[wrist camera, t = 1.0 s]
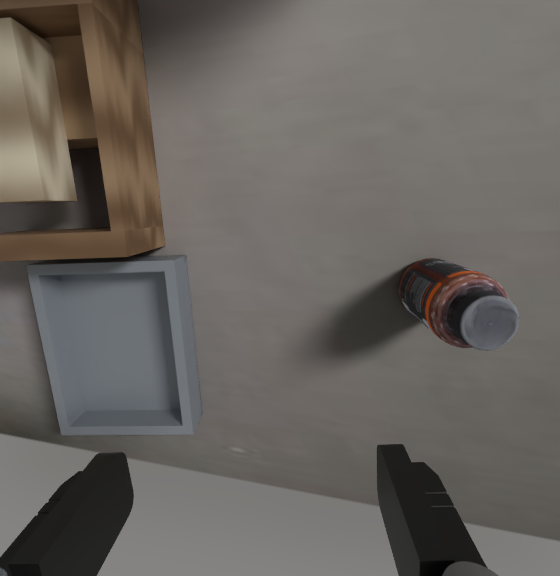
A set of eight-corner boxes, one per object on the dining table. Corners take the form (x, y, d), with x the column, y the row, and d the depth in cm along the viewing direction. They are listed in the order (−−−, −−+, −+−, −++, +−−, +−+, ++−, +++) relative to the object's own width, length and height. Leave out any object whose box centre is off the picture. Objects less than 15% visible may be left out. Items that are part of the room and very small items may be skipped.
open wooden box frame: (-18, 13, 30) (-125, -53, 23) (137, 2, 30) (81, -70, 22) (31, 250, 35) (-44, 262, 27) (165, 245, 35) (127, 256, 27)
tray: (51, 259, 35) (25, 265, 32) (186, 254, 35) (174, 260, 31) (81, 415, 39) (61, 435, 36) (202, 414, 39) (193, 434, 35)
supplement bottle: (401, 320, 35) (449, 371, 24) (392, 264, 34) (439, 291, 23) (460, 308, 35) (537, 355, 24) (454, 251, 33) (532, 272, 22)
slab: (-4, 48, 27) (-53, 21, 24) (51, 44, 27) (10, 17, 23) (27, 203, 30) (-13, 202, 26) (77, 201, 30) (44, 200, 26)
